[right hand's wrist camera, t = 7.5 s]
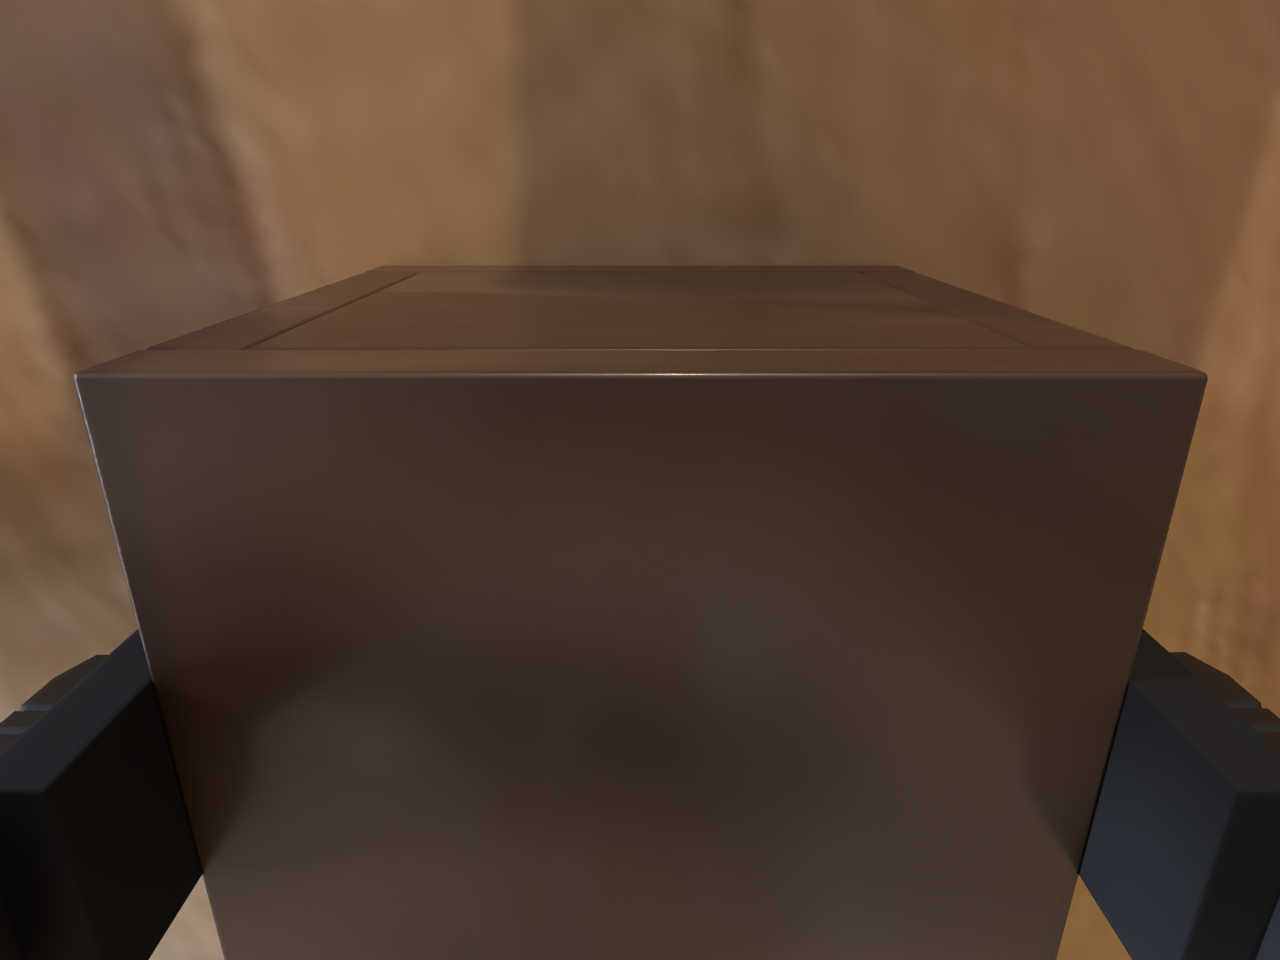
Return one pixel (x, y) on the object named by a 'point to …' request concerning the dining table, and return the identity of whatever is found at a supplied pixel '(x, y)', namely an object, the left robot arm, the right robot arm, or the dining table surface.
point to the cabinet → (640, 608)
